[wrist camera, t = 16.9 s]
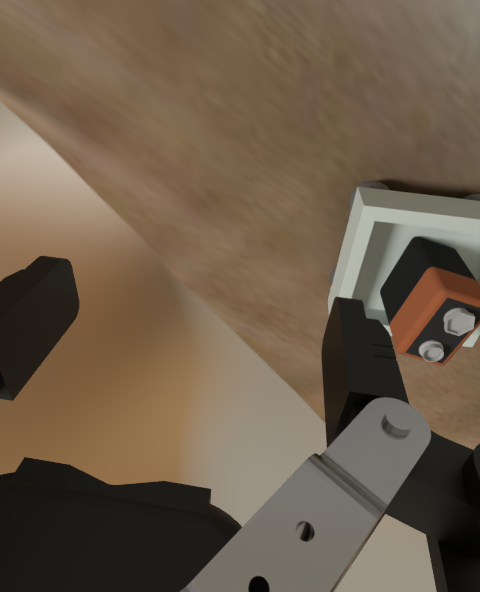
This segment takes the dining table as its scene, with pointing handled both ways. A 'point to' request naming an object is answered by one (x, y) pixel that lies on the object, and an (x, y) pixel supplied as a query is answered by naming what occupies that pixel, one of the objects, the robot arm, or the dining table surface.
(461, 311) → the battery
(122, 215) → the dining table surface
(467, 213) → the cart
